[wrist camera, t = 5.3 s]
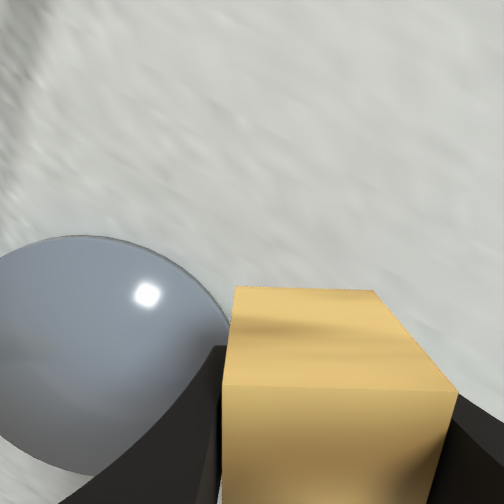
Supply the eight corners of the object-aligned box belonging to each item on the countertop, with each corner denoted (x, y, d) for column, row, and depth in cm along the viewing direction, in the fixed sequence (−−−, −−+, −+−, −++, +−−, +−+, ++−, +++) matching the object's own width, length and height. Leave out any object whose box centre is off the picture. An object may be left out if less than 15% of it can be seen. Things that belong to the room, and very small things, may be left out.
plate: (238, 467, 24) (237, 480, 23) (0, 461, 24) (-11, 474, 23) (241, 239, 18) (241, 244, 17) (-71, 230, 18) (-90, 235, 17)
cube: (354, 400, 13) (413, 546, 8) (233, 396, 13) (222, 541, 8) (372, 290, 11) (459, 391, 7) (235, 286, 11) (222, 385, 7)
